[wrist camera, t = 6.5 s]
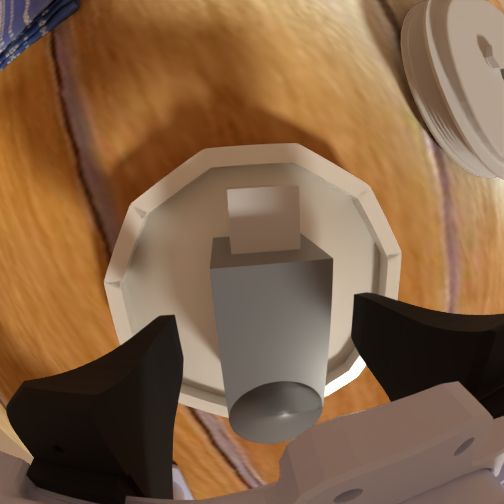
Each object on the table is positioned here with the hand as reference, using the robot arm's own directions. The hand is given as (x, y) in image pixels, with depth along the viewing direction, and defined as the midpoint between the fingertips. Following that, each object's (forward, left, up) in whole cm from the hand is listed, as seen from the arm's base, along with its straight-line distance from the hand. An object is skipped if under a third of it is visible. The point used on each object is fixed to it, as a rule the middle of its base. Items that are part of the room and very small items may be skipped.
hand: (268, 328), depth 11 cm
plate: (0, 0, -4) cm, 4 cm away
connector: (0, 0, -3) cm, 3 cm away
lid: (+15, +12, -4) cm, 20 cm away
